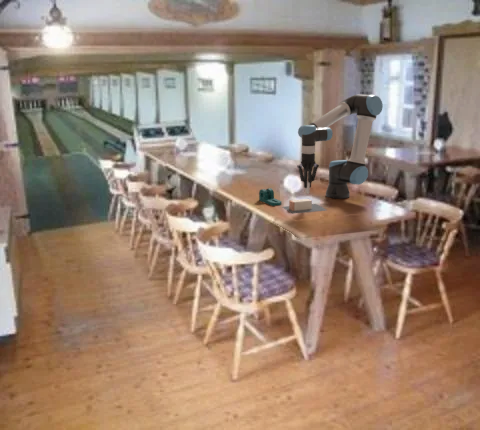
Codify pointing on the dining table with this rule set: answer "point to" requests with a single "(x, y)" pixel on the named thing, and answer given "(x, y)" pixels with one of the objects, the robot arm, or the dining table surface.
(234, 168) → the dining table surface
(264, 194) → the bracket
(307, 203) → the cream block
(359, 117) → the robot arm
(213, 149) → the dining table surface
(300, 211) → the slate mat
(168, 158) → the dining table surface
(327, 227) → the dining table surface
